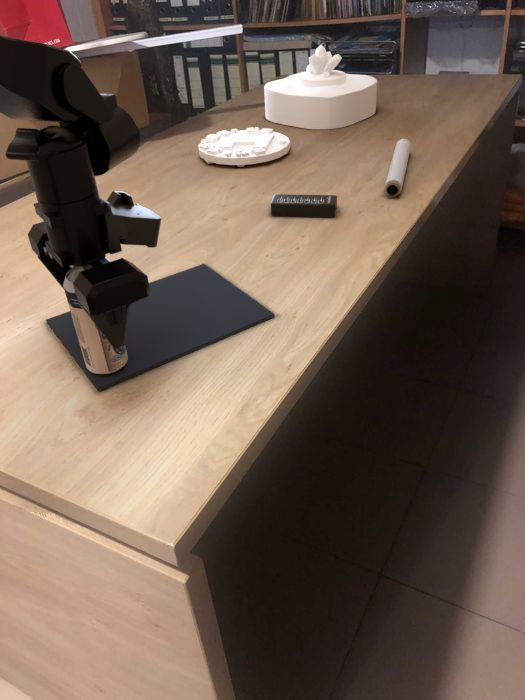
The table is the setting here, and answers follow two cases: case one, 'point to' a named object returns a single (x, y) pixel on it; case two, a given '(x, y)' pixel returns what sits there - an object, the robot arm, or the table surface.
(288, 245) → the table surface
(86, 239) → the robot arm
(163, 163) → the table surface
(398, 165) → the tube
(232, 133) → the embossed medallion
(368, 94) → the white crystal-topped box
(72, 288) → the beer can
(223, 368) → the table surface
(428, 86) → the table surface
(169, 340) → the desk mat
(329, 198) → the multiport hub
